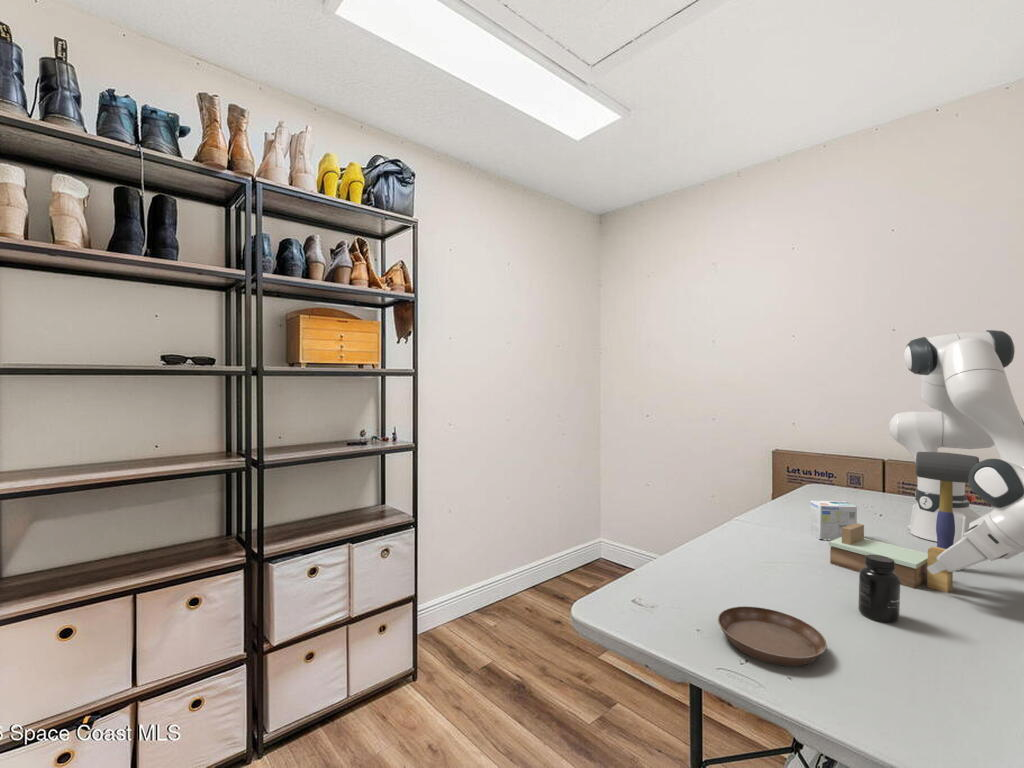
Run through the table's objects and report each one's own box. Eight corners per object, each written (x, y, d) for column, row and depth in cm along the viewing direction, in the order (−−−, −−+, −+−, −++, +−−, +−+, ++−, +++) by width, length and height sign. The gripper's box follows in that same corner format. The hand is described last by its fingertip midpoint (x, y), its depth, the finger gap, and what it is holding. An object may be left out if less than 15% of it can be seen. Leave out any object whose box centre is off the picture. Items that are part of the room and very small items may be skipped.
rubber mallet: (977, 569, 125) (979, 453, 125) (978, 578, 120) (980, 457, 120) (914, 557, 134) (916, 448, 133) (912, 565, 128) (914, 451, 128)
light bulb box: (844, 534, 153) (845, 500, 153) (857, 542, 147) (858, 506, 146) (808, 533, 154) (809, 499, 154) (820, 540, 148) (820, 505, 147)
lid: (848, 537, 135) (849, 519, 135) (933, 558, 120) (934, 538, 120) (828, 545, 129) (829, 526, 129) (915, 568, 113) (916, 547, 113)
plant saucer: (834, 643, 91) (834, 626, 91) (815, 688, 77) (816, 669, 77) (734, 612, 102) (734, 597, 102) (703, 646, 89) (703, 630, 89)
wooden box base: (849, 555, 135) (849, 539, 135) (931, 578, 120) (931, 559, 120) (830, 563, 129) (830, 546, 129) (914, 588, 114) (914, 569, 114)
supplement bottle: (902, 627, 96) (903, 567, 96) (859, 618, 100) (860, 559, 99) (897, 613, 102) (898, 556, 102) (857, 605, 105) (858, 549, 105)
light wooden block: (932, 583, 117) (933, 546, 117) (952, 589, 114) (953, 550, 114) (927, 587, 115) (927, 549, 115) (947, 592, 112) (947, 553, 112)
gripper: (995, 516, 114) (941, 546, 122) (967, 531, 103) (909, 562, 111) (1022, 541, 110) (964, 569, 119) (996, 559, 99) (934, 589, 107)
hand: (937, 566), depth 115 cm, fingers open, 8 cm apart
